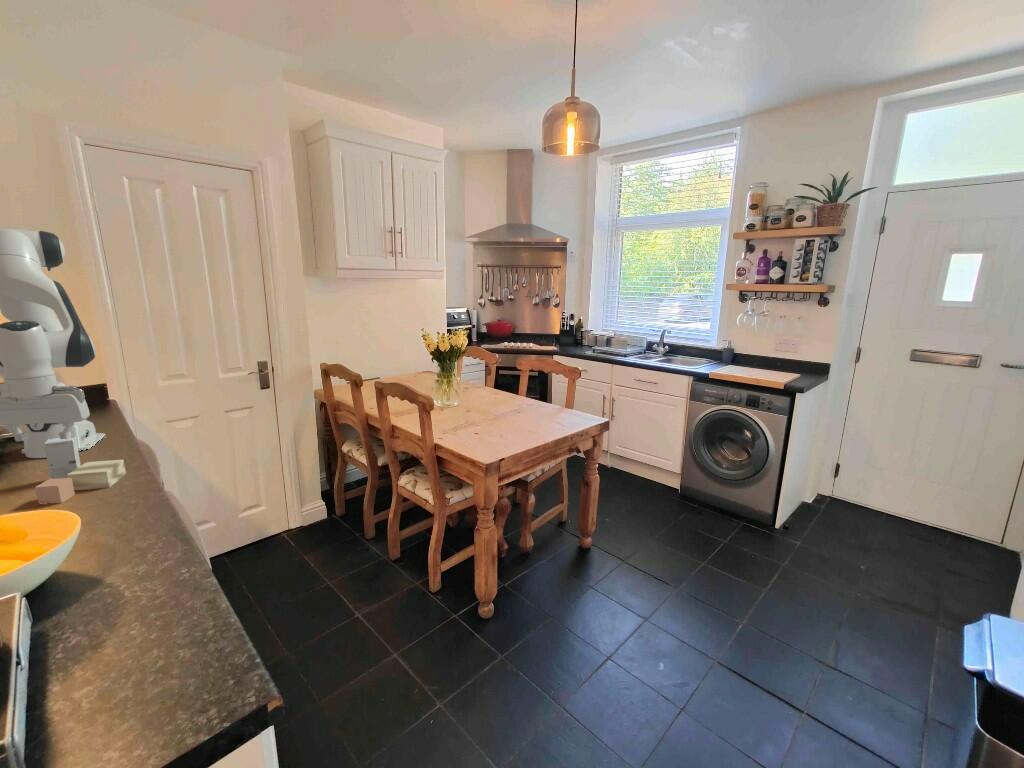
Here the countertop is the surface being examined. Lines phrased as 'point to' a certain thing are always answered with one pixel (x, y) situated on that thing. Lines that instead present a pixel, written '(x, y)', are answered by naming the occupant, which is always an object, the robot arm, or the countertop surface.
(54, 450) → the skincare box
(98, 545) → the countertop surface
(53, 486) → the terracotta cube
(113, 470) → the birch block
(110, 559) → the countertop surface
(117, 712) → the countertop surface
